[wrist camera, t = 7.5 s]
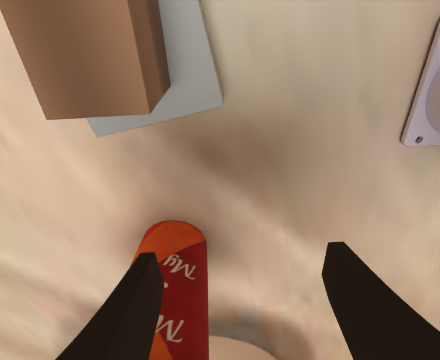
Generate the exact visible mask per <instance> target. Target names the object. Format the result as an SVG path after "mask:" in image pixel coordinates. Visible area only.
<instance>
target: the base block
mask: <svg viewBox="0 0 440 360" xmlns="http://www.w3.org/2000/svg"><path fill="white" fill-rule="evenodd" d="M158 2H159V9H160V16H161V23H162V30H163V36H164V43H165V50H166V57H167V63H168V70H169V77H170V84H171V86H170V88H169V89H168V90H167V92H166V93H165V95H164V96H163V97H162V99H161V100H160V101H159V103H158V104H157V106H156V107H155V108H154V110H153V111H152V112H151V114H149V115H130V116H112V117H93V118H87V120H88V122H89V124H90V126H91V127H92V129H93V131H94V133H95V135H96V136H97V138H98V137H102V136H106V135H110V134H114V133H118V132H122V131H126V130H130V129H134V128H138V127H142V126H146V125H150V124H154V123H158V122H162V121H166V120H170V119H174V118H178V117H182V116H186V115H190V114H194V113H198V112H202V111H206V110H210V109H214V108H218V107H222V106H224V95H223V90H222V86H221V82H220V78H219V74H218V69H217V65H216V61H215V57H214V53H213V49H212V44H211V40H210V36H209V32H208V28H207V24H206V20H205V15H204V11H203V7H202V3H201V0H158Z"/></svg>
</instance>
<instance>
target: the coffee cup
mask: <svg viewBox="0 0 440 360" xmlns="http://www.w3.org/2000/svg"><path fill="white" fill-rule="evenodd" d="M145 252H155V254H156V258H157V261H158V264H159V267H160V270H161V273H162V276H163V280H164V290H163V298H162V305H161V310H160V315H159V319H158V323H157V327H156V332H155V336H154V340H153V344H152V348H151V352H150V356H149V360H209V346H208V345H209V341H208V340H209V336H208V272H207V246H206V240H205V238H204V236H203V234H202V233H201V232H200V231H199V230H198V229H197V228H195V227H194V226H192V225H190V224H187V223H184V222H180V221H165V222H161V223H158V224H156V225H154V226H152V227H151V228H150V229H149V230H148V231H147V232H146V234H145V236H144V238H143V239H142V242H141V244H140V246H139V248H138V250H137V252H136V255H135V257H134V259H133V261H132V264H133V262H134V261H135V259H136V258H137V256H138V255H139V254H140V253H145ZM132 264H131V265H132ZM130 267H131V266H130Z"/></svg>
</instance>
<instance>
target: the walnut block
mask: <svg viewBox="0 0 440 360" xmlns="http://www.w3.org/2000/svg"><path fill="white" fill-rule="evenodd" d="M0 10H1V12H2V15H3V17H4V19H5V22H6V24H7V27H8V29H9V31H10V34H11V36H12V38H13V41H14V43H15V46H16V48H17V50H18V53H19V55H20V58H21V60H22V62H23V65H24V67H25V69H26V72H27V74H28V77H29V79H30V81H31V84H32V86H33V88H34V91H35V93H36V96H37V98H38V100H39V103H40V105H41V107H42V110H43V112H44V115H45V117H46V119H47V120H56V119H74V118H93V117H112V116H130V115H149V114H151V112H152V111H153V110H154V108H155V107H156V106H157V104H158V103H159V101H160V100H161V99H162V97H163V96H164V95H165V93H166V92H167V90H168V89H169V88H170V86H171V84H170V77H169V70H168V63H167V57H166V50H165V43H164V36H163V30H162V23H161V16H160V9H159V2H158V0H0Z"/></svg>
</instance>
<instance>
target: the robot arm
mask: <svg viewBox="0 0 440 360" xmlns="http://www.w3.org/2000/svg"><path fill="white" fill-rule="evenodd" d="M418 137H419V139H418V140H417V141H415V140H416V138H418ZM401 142H402V144H404V145H405V146H407V147H412V146H426V145H440V22H439V25H438V28H437V31H436V34H435V37H434V40H433V43H432V46H431V49H430V52H429V56H428V59H427V62H426V65H425V68H424V71H423V74H422V77H421V80H420V83H419V86H418V90H417V93H416V96H415V99H414V102H413V105H412V108H411V111H410V114H409V117H408V120H407V123H406V127H405V130H404V133H403V136H402V139H401ZM322 278H323V282H324V285H325V289H326V292H327V296H328V299H329V302H330V304H331V307H332V309H333V311H334V314H335V316H336V319H337V321H338V324H339V326H340V328H341V331H342V333H343V336H344V338H345V341H346V343H347V345H348V348H349V350H350V353H351V355H352V357H353V360H440V331H438V330H437V329H436V328H435V327H433V326H432V325H431V324H430V323H429V322H427V321H426V320H425V319H424V318H423V317H422V316H420V315H419V314H418V313H417V312H416V311H415V310H413V309H412V308H411V307H410V306H409V305H408V304H407V303H406V302H404V301H403V300H402V299H401V298H400V297H399V296H398V295H397V294H396V293H395V292H394V291H392V290H391V289H390V288H389V287H388V286H387V285H386V284H385V283H384V282H383V281H382V280H381V279H380V278H379V277H378V276H377V275H376V274H375V273H374V272H373V271H372V270H371V269H370V268H369V267H368V266H367V265H366V264H365V263H364V262H363V261H362V260H361V259H360V258H359V257H358V256H357V255H356V254H355V253H354V252H353V251H352V250H351V249H350V248H349V247H348V246H347V245H346V244H345V243H344V242H329V243H328V246H327V251H326V256H325V261H324V265H323V270H322ZM163 290H164V280H163V276H162V273H161V270H160V267H159V264H158V261H157V258H156V254H155V252H145V253H140V254H139V255H138V256H137V258H136V259H135V261H134V262H133V264H132V265H131V267H130V268H129V270H128V271H127V272H126V274H125V275H124V277H123V278H122V280H121V281H120V282H119V284H118V285H117V286H116V288H115V289H114V290H113V292H112V293H111V295H110V296H109V297H108V299H107V300H106V301H105V303H104V304H103V305H102V306H101V308H100V309H99V310H98V311H97V313H96V314H95V315H94V316H93V318H92V319H91V320H90V321H89V322H88V324H87V325H86V326H85V327H84V328H83V330H82V331H81V332H80V333H79V334H78V335H77V337H76V338H75V339H74V340H73V341H72V342H71V343H70V344H69V345H68V347H67V348H66V349H65V350H64V351H63V352H62V353H61V354H60V355H59V356H58V357H57V358H56V359H55V360H149V356H150V352H151V348H152V344H153V340H154V336H155V332H156V327H157V323H158V319H159V315H160V310H161V305H162V298H163Z"/></svg>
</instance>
